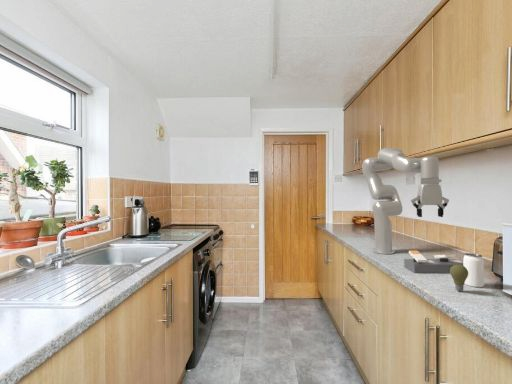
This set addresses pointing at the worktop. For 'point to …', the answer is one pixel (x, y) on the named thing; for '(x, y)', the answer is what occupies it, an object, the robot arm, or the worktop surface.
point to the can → (474, 270)
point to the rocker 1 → (417, 256)
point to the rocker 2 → (443, 256)
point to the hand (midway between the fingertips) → (430, 216)
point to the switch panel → (431, 265)
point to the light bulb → (459, 276)
